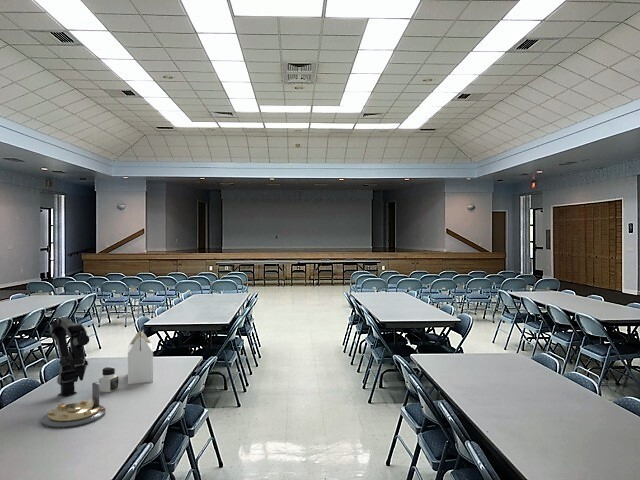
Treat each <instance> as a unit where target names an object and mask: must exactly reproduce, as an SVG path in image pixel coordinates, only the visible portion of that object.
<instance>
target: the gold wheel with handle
mask: <svg viewBox="0 0 640 480" xmlns="http://www.w3.org/2000/svg"><path fill="white" fill-rule="evenodd" d="M91 384H92V385H91V386H92V387H91V388H92V389H91V393H92V394H91V395H92V397H91V401H92V402H89V400H88V399H87V400H86V399H85V400H83V399H82V400H81V401H80V402H74V403H67V404H66V403H60V404H57V407H55V408H53V409H51V410H48V411H47V413H48V419H49V420H50V421H54V422H73V421H79V420H83V419H87V418H90V417H92V416H94V415H96V414H97V413H98V412H99V410H100V407H99V405H100V392H99V381H96V382H92V383H91Z"/></svg>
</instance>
